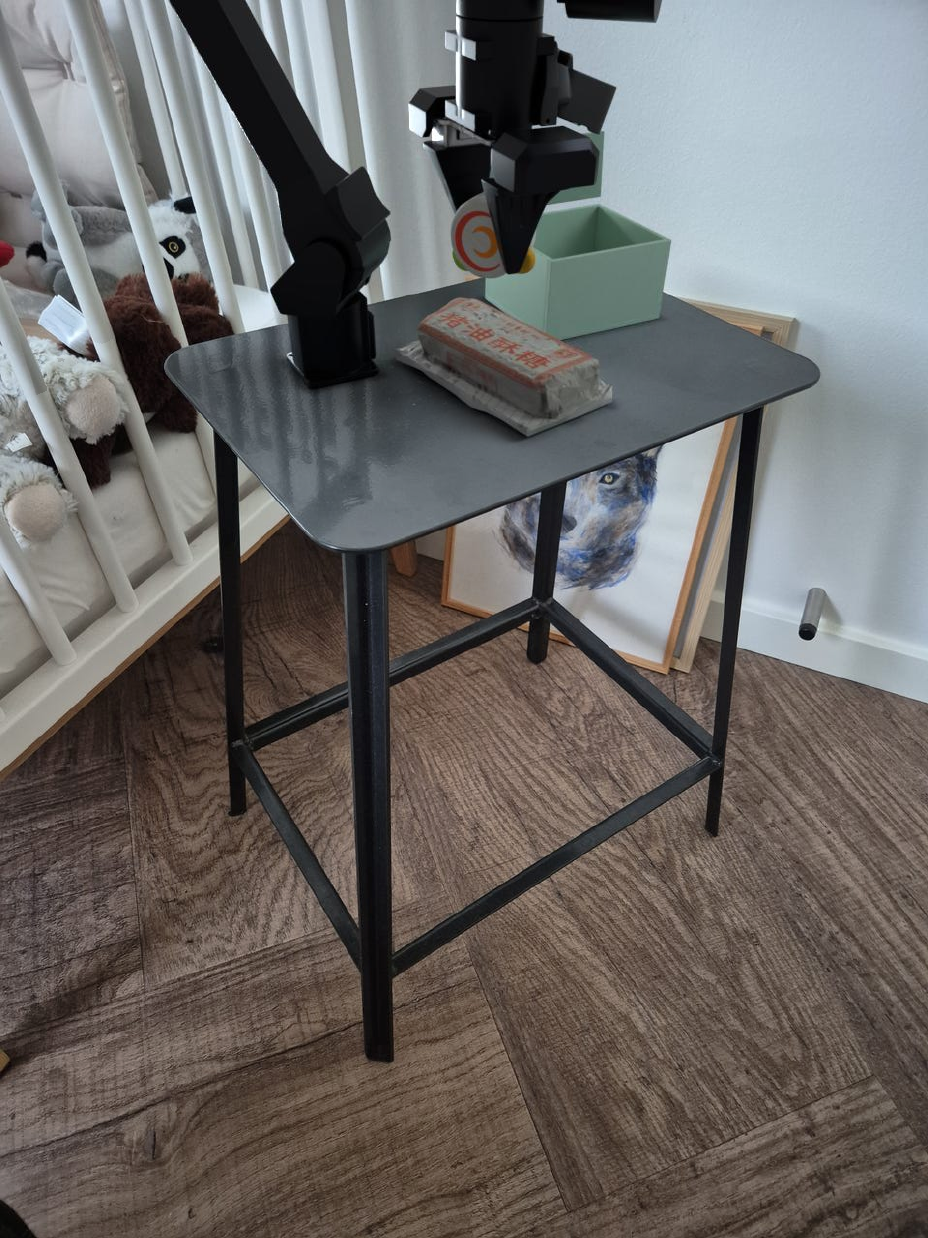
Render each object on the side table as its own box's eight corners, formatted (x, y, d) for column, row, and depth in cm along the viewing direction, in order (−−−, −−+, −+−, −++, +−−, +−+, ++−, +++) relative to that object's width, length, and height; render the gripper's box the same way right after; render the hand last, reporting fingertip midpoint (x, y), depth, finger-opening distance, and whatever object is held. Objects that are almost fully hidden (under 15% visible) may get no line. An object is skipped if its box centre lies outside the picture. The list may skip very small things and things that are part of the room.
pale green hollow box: (545, 343, 82) (551, 261, 77) (485, 298, 90) (486, 221, 85) (659, 318, 87) (671, 239, 82) (592, 277, 95) (599, 203, 90)
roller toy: (470, 255, 71) (471, 178, 68) (542, 268, 69) (548, 189, 65) (445, 273, 68) (444, 193, 65) (520, 287, 66) (524, 206, 62)
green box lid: (487, 145, 81) (485, 145, 81) (488, 214, 85) (486, 213, 85) (604, 131, 86) (602, 130, 86) (601, 196, 89) (598, 195, 89)
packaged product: (623, 349, 70) (530, 385, 66) (616, 404, 73) (527, 442, 69) (479, 281, 81) (390, 308, 76) (478, 332, 84) (393, 361, 79)
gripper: (686, 29, 54) (648, 284, 64) (540, -9, 67) (528, 210, 77) (524, 40, 50) (512, 309, 61) (402, -2, 63) (409, 227, 73)
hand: (492, 258), depth 68 cm, fingers closed on roller toy, 6 cm apart
